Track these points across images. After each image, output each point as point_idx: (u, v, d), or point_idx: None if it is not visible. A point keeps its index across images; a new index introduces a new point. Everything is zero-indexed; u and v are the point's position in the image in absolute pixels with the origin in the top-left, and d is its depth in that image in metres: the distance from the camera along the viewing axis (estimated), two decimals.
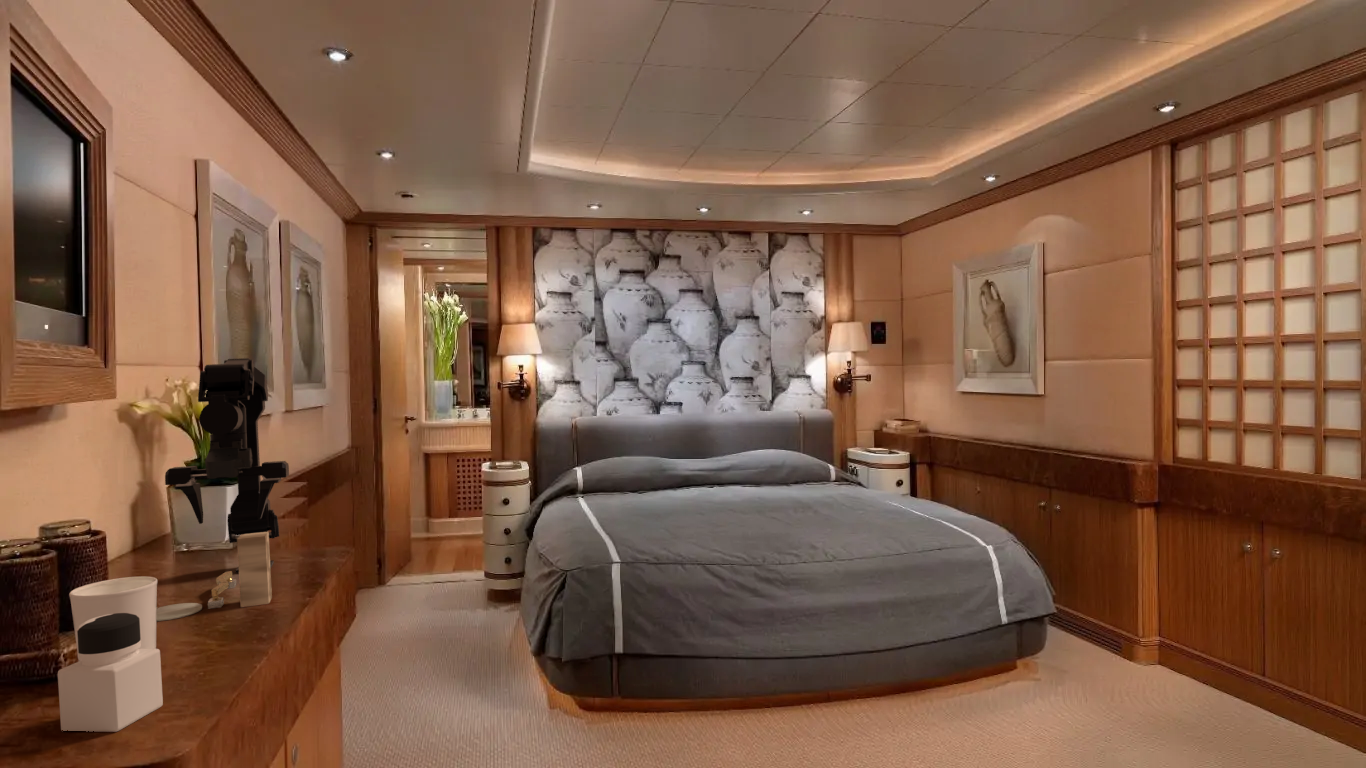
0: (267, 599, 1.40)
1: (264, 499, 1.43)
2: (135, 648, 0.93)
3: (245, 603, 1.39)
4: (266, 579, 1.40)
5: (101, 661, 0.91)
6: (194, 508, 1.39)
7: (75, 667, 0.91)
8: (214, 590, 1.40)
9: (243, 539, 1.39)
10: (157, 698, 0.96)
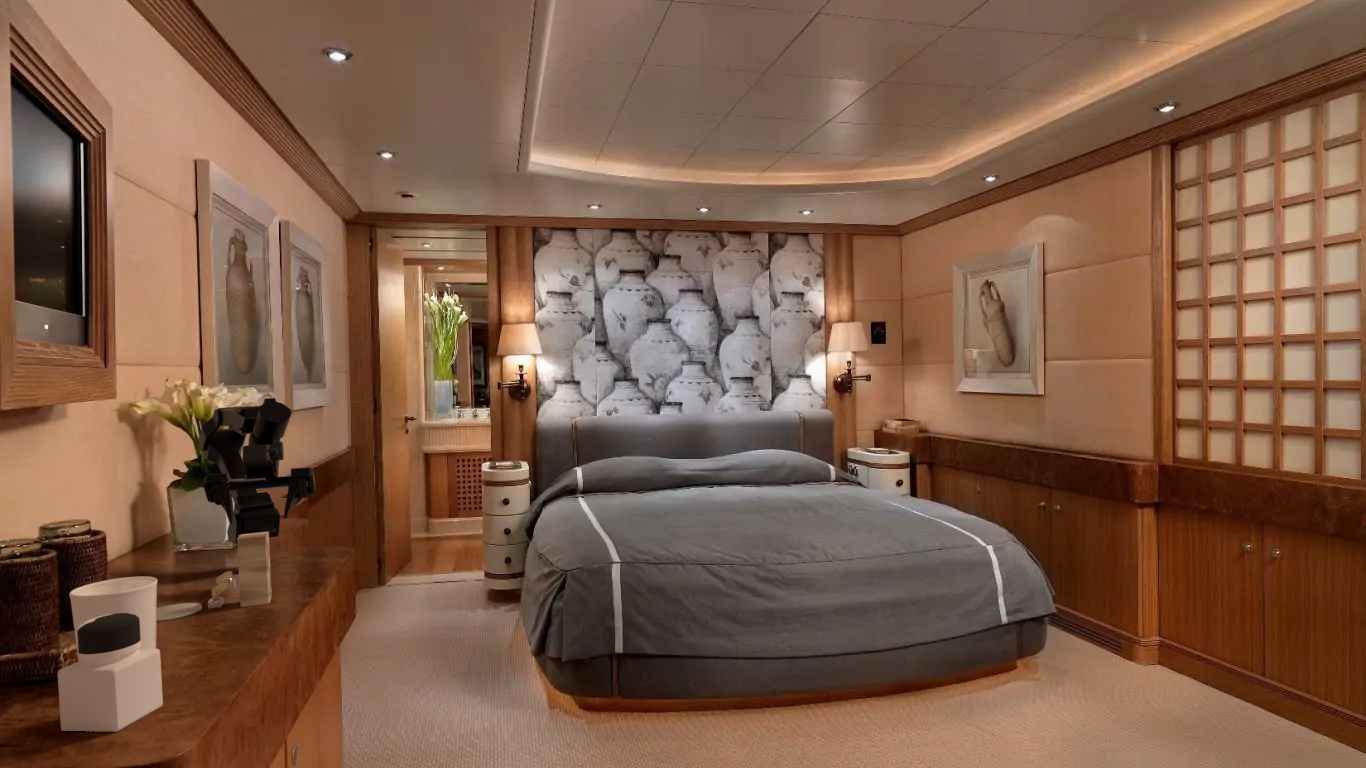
0: (267, 599, 1.40)
1: (291, 498, 1.52)
2: (135, 648, 0.93)
3: (245, 603, 1.39)
4: (266, 579, 1.40)
5: (101, 661, 0.91)
6: (226, 507, 1.48)
7: (75, 667, 0.91)
8: (214, 590, 1.40)
9: (243, 539, 1.39)
10: (157, 698, 0.96)
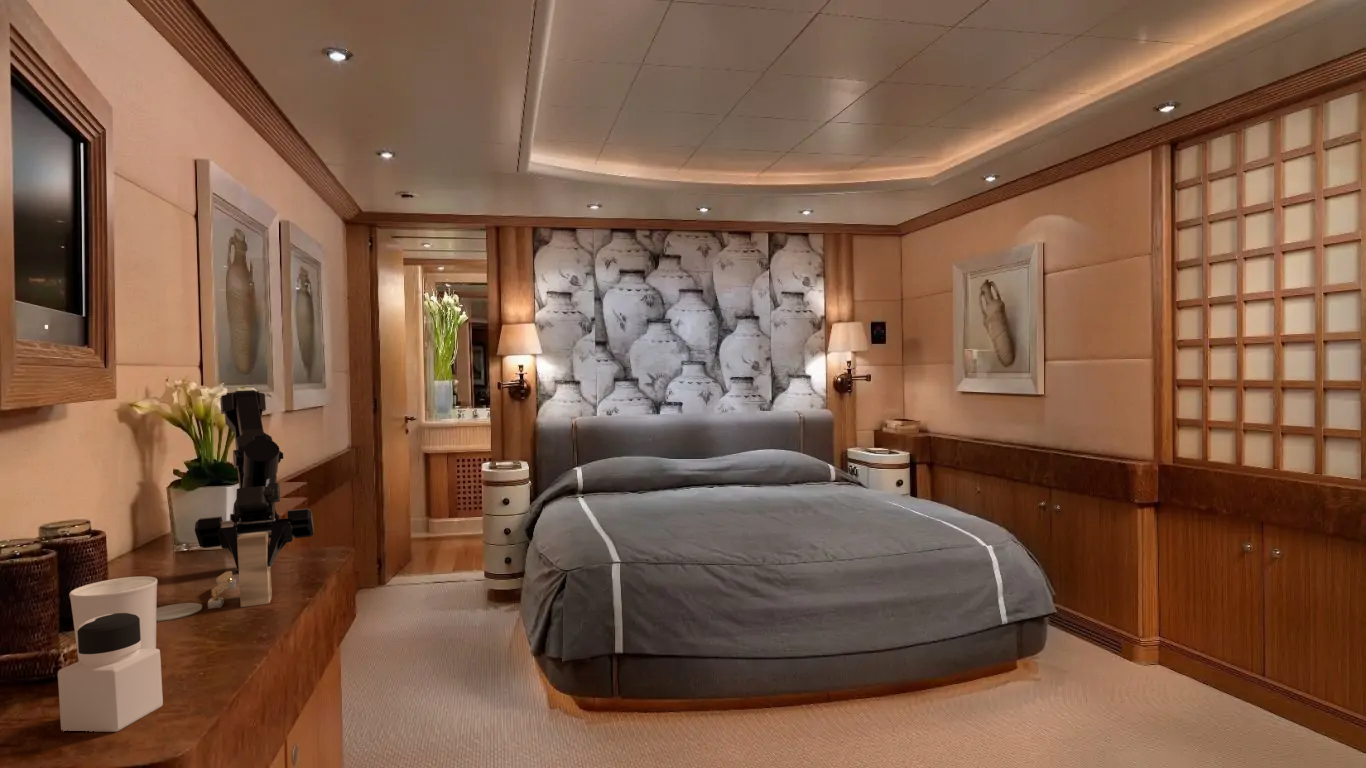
0: (267, 599, 1.40)
1: (275, 544, 1.43)
2: (135, 648, 0.93)
3: (245, 603, 1.39)
4: (266, 579, 1.40)
5: (101, 661, 0.91)
6: (233, 552, 1.40)
7: (75, 667, 0.91)
8: (214, 590, 1.40)
9: (243, 539, 1.39)
10: (157, 698, 0.96)
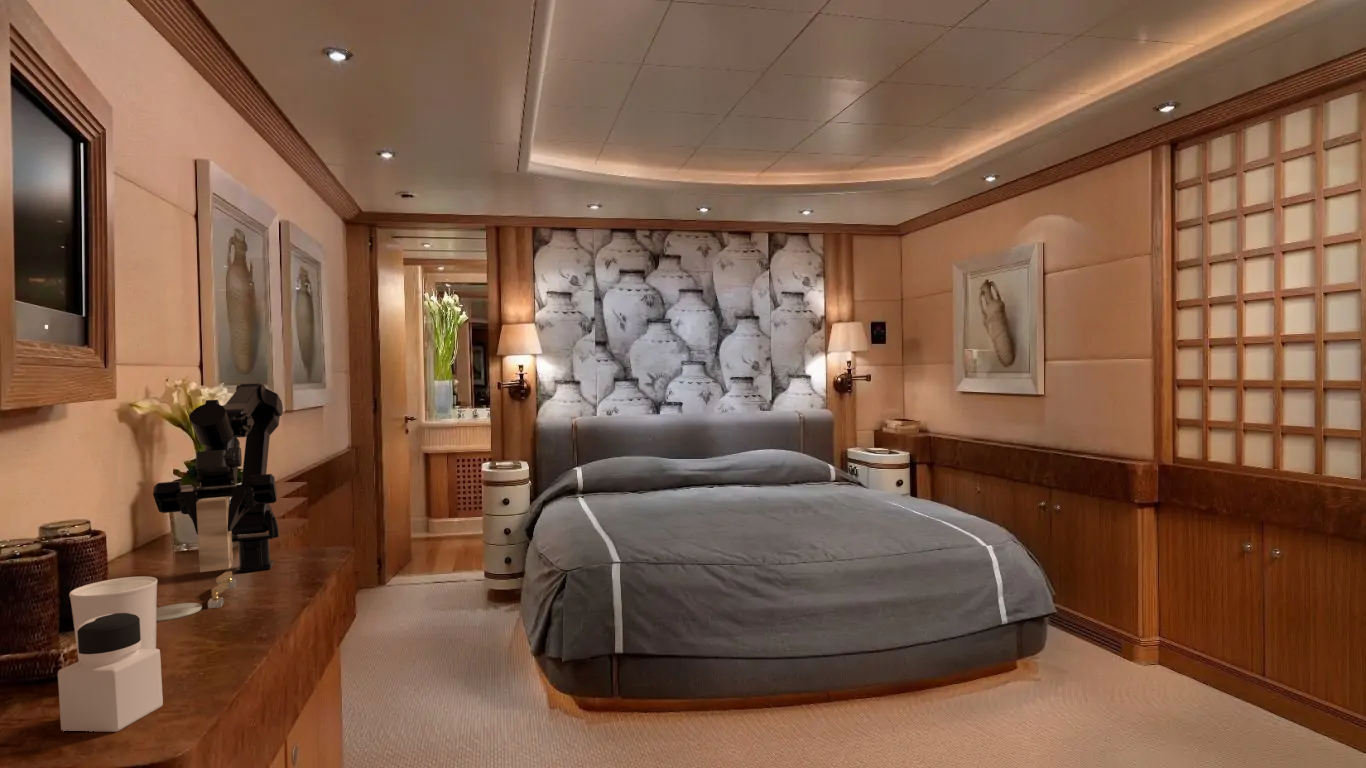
0: (227, 564, 1.38)
1: (235, 509, 1.41)
2: (135, 648, 0.93)
3: (204, 568, 1.37)
4: (226, 544, 1.38)
5: (101, 661, 0.91)
6: (193, 516, 1.38)
7: (75, 667, 0.91)
8: (214, 590, 1.40)
9: (202, 503, 1.37)
10: (157, 698, 0.96)
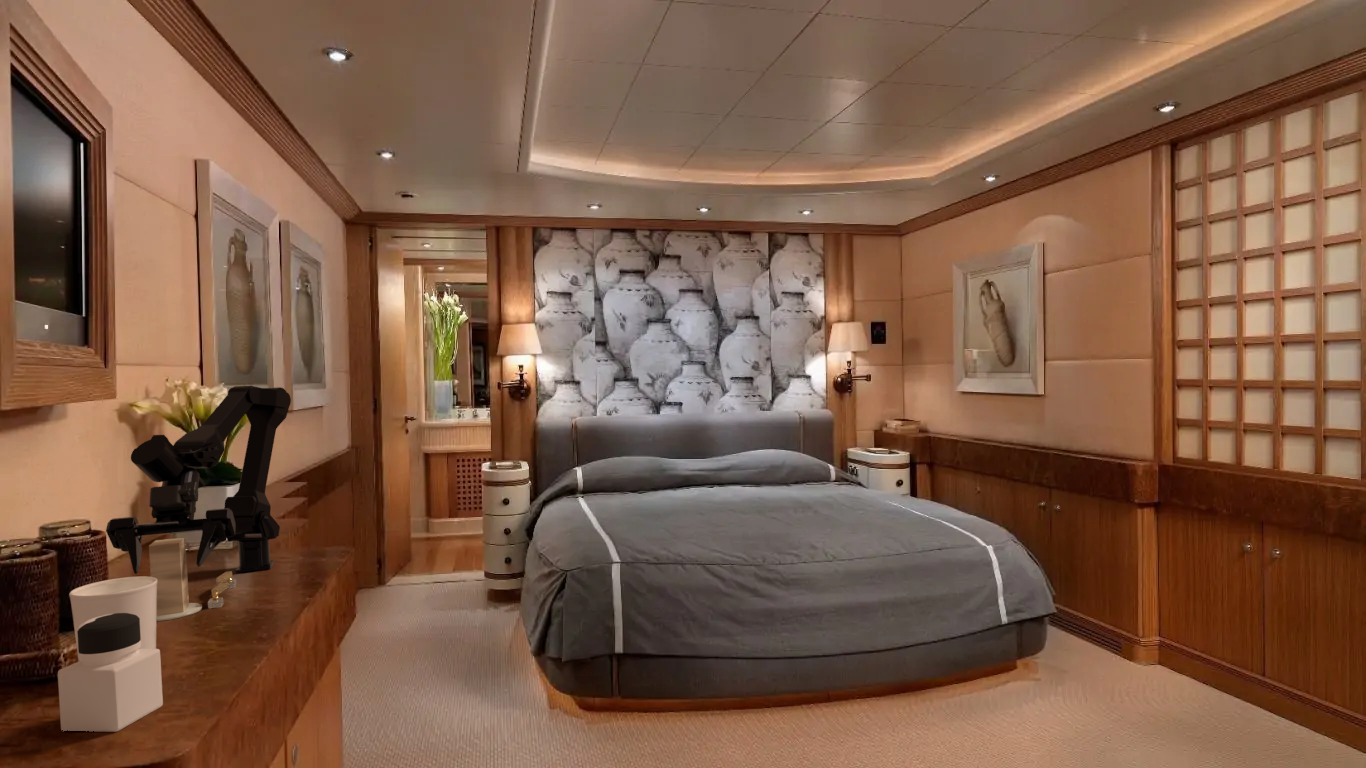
0: (181, 608, 1.35)
1: (205, 543, 1.39)
2: (136, 648, 0.94)
3: (158, 612, 1.34)
4: (180, 587, 1.35)
5: (101, 661, 0.91)
6: (131, 555, 1.35)
7: (75, 667, 0.91)
8: (214, 590, 1.40)
9: (155, 546, 1.34)
10: (157, 698, 0.96)
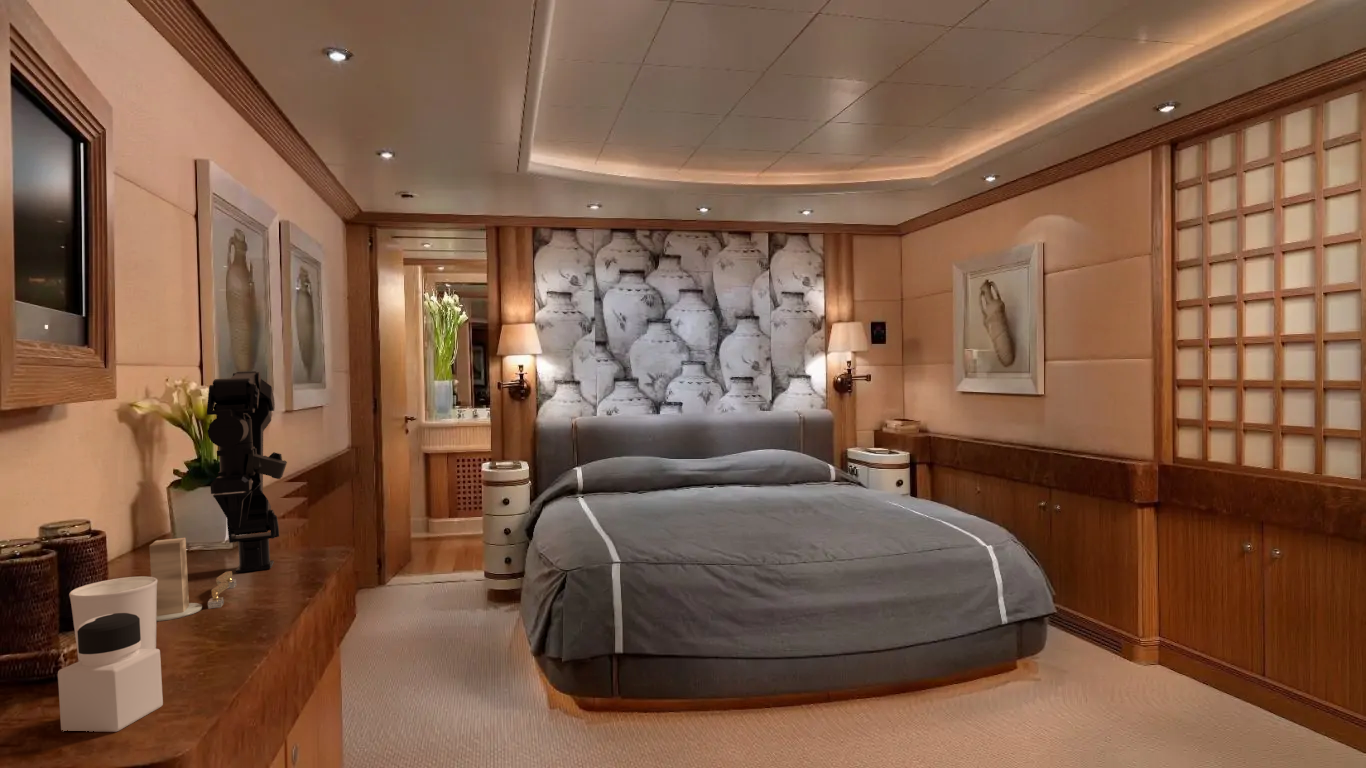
0: (182, 608, 1.35)
1: (250, 501, 1.59)
2: (136, 648, 0.94)
3: (158, 612, 1.34)
4: (180, 587, 1.35)
5: (101, 661, 0.91)
6: (241, 513, 1.48)
7: (75, 667, 0.91)
8: (214, 590, 1.40)
9: (156, 546, 1.34)
10: (157, 698, 0.96)
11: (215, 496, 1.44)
